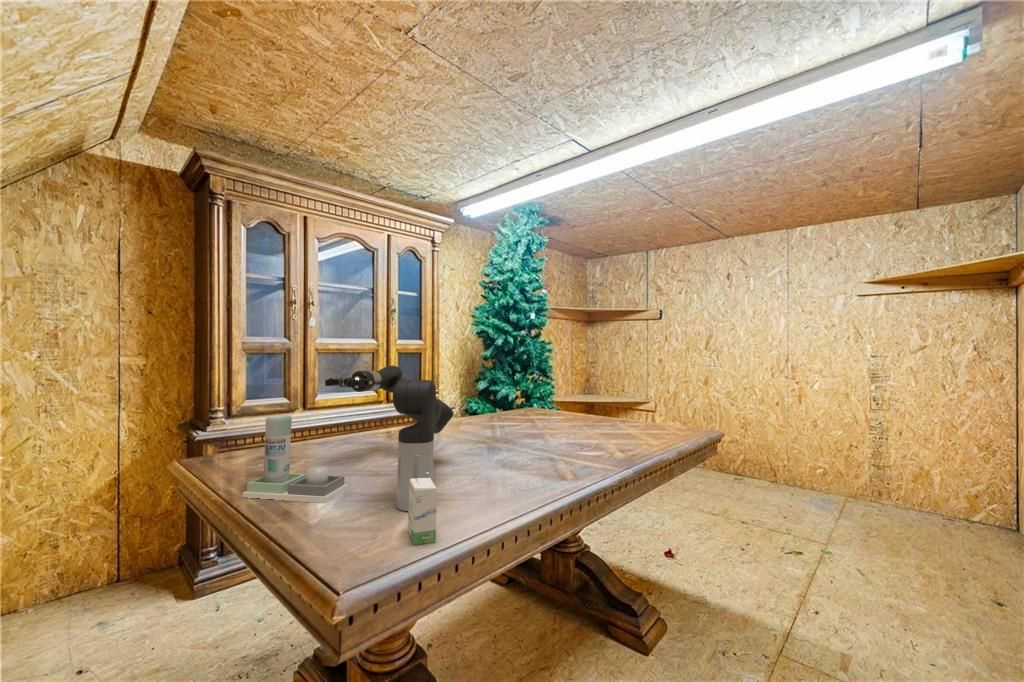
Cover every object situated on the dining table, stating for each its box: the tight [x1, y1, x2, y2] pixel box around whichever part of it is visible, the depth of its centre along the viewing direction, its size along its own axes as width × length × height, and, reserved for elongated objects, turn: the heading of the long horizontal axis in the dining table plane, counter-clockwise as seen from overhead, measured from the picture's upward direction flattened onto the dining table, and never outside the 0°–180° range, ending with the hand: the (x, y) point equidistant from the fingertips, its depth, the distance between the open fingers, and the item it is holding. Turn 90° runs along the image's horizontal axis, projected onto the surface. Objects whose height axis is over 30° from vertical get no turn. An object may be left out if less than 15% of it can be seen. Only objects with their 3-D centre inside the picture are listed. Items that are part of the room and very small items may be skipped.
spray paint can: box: [263, 414, 293, 484], centre depth 123 cm, size 6×6×20 cm
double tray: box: [242, 465, 349, 504], centre depth 122 cm, size 24×12×8 cm, turn 83°
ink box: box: [407, 478, 438, 546], centre depth 95 cm, size 8×5×12 cm, turn 21°
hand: (336, 383), depth 143 cm, fingers open, 8 cm apart
